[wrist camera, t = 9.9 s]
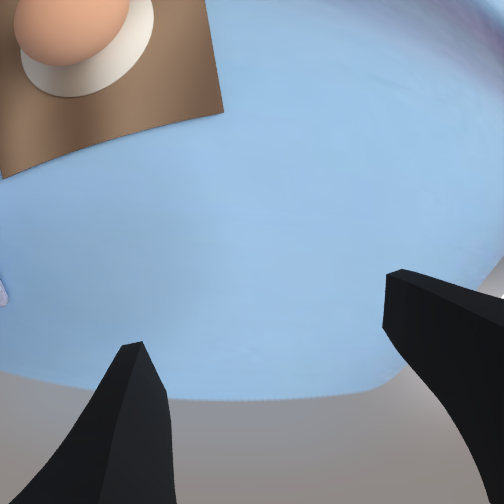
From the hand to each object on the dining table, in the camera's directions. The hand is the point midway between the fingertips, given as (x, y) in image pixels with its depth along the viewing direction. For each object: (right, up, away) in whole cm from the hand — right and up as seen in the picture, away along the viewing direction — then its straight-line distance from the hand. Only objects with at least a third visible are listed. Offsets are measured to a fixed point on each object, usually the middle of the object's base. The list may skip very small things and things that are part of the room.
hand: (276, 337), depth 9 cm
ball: (-8, +12, 0) cm, 14 cm away
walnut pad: (-9, +13, +3) cm, 16 cm away
